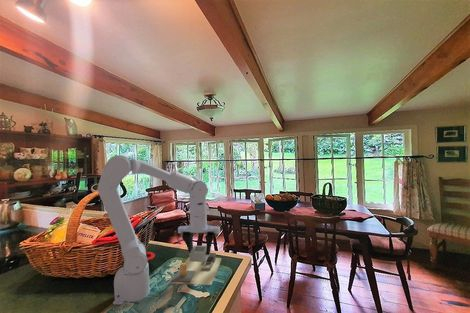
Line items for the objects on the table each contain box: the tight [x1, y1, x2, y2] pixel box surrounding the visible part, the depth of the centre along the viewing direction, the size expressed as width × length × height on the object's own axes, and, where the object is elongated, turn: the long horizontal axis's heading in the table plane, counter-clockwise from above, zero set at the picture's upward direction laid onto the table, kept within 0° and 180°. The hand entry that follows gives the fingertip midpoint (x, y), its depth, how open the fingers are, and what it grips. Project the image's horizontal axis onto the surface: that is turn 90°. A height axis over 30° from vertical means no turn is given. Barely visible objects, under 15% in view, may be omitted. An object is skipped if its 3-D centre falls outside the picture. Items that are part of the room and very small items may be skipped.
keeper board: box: [170, 252, 223, 286], centre depth 81 cm, size 14×18×3 cm
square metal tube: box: [188, 245, 210, 262], centre depth 76 cm, size 6×6×3 cm
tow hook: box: [146, 251, 156, 262], centre depth 93 cm, size 8×13×9 cm
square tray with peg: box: [170, 262, 196, 283], centre depth 76 cm, size 6×6×5 cm
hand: (199, 253), depth 76 cm, fingers closed on square metal tube, 6 cm apart
